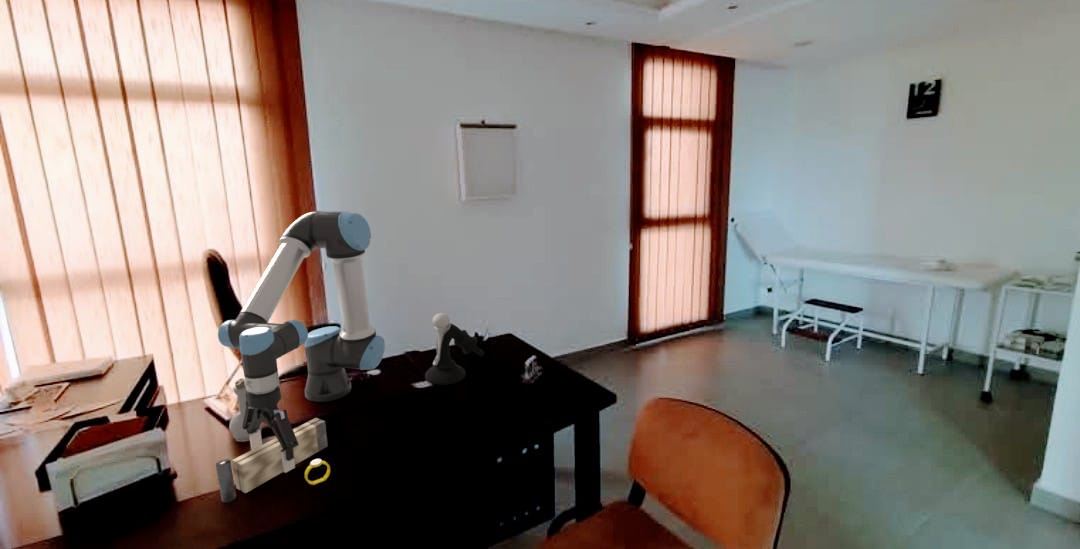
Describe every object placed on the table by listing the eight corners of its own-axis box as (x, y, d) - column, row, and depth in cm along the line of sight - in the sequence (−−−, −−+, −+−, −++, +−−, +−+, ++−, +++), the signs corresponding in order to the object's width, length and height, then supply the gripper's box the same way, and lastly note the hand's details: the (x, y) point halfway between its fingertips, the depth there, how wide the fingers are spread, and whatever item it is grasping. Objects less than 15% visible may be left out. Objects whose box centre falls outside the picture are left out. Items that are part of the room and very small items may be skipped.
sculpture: (419, 372, 197) (416, 310, 191) (476, 360, 208) (475, 301, 202) (432, 388, 184) (429, 322, 178) (492, 374, 195) (491, 312, 189)
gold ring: (308, 489, 129) (304, 469, 128) (305, 484, 131) (301, 464, 130) (332, 478, 133) (328, 459, 131) (329, 473, 135) (325, 454, 133)
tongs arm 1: (240, 490, 128) (235, 462, 126) (236, 488, 129) (231, 460, 127) (322, 444, 148) (319, 419, 146) (318, 442, 149) (315, 417, 147)
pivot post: (226, 504, 124) (220, 467, 121) (219, 500, 125) (213, 464, 123) (238, 497, 126) (232, 461, 124) (231, 493, 128) (225, 457, 125)
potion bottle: (270, 430, 156) (263, 376, 152) (245, 446, 148) (237, 389, 143) (249, 425, 159) (241, 372, 154) (223, 440, 150) (214, 384, 146)
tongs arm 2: (245, 493, 127) (241, 465, 125) (241, 491, 128) (237, 462, 126) (327, 446, 147) (325, 421, 145) (323, 444, 148) (320, 419, 146)
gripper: (220, 382, 133) (231, 455, 138) (279, 406, 121) (289, 484, 126) (248, 372, 139) (258, 441, 144) (307, 393, 127) (316, 468, 132)
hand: (273, 462), depth 135 cm, fingers open, 13 cm apart
